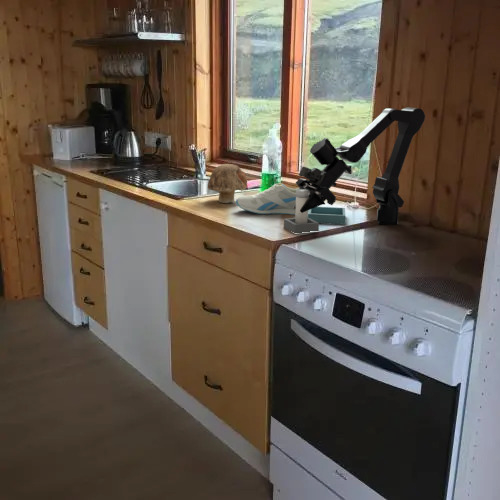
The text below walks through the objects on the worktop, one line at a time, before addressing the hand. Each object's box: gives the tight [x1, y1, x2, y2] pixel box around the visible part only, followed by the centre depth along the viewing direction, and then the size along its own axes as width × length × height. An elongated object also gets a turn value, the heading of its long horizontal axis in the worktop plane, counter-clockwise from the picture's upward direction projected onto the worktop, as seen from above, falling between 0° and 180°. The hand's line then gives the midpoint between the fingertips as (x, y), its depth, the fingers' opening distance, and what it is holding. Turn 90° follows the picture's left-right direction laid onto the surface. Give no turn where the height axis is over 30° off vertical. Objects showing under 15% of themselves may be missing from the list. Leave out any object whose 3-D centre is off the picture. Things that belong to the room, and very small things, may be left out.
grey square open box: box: [283, 217, 320, 234], centre depth 190 cm, size 8×8×3 cm
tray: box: [308, 206, 346, 225], centre depth 205 cm, size 13×13×3 cm
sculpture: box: [207, 163, 248, 204], centre depth 228 cm, size 15×16×15 cm
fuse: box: [294, 188, 309, 224], centre depth 188 cm, size 4×4×13 cm
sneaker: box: [235, 182, 309, 216], centre depth 213 cm, size 10×27×11 cm, turn 95°
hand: (297, 210), depth 188 cm, fingers closed on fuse, 4 cm apart
